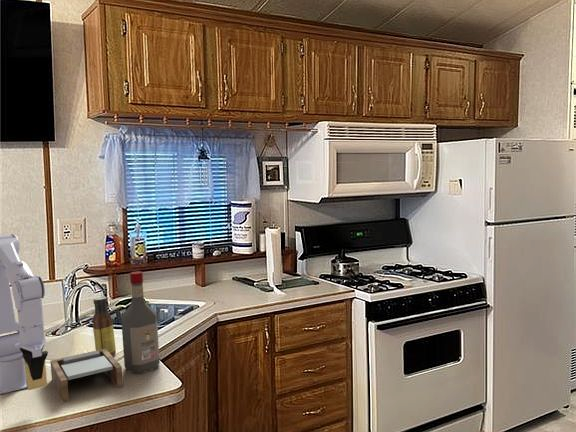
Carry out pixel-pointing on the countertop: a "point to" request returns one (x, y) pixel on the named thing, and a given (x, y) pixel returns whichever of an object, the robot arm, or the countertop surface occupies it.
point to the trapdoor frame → (61, 380)
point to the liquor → (139, 331)
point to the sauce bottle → (103, 327)
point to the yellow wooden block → (35, 383)
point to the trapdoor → (85, 365)
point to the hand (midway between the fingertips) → (35, 375)
